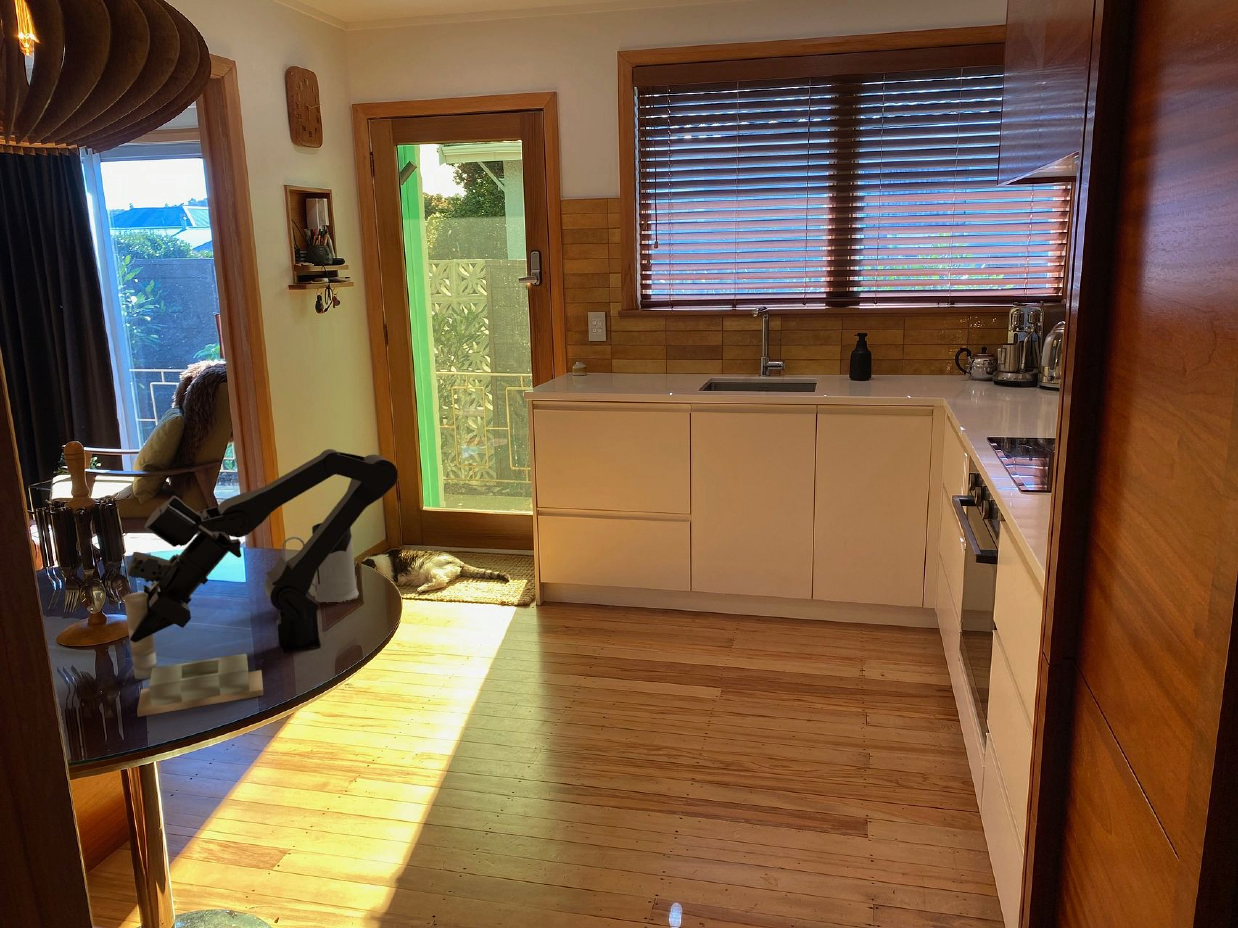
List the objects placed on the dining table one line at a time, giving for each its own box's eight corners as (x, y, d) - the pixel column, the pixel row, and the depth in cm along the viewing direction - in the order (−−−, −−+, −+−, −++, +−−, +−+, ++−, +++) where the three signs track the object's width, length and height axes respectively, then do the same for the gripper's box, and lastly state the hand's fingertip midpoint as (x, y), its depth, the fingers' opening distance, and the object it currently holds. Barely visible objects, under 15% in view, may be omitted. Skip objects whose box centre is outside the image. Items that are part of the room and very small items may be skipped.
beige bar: (158, 669, 161) (148, 590, 158) (157, 676, 158) (147, 597, 155) (135, 672, 160) (125, 593, 157) (133, 680, 156) (123, 600, 154)
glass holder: (362, 598, 194) (357, 528, 191) (290, 610, 188) (283, 537, 184) (354, 586, 201) (348, 518, 198) (284, 597, 195) (277, 527, 192)
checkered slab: (261, 675, 158) (259, 650, 157) (263, 695, 150) (260, 668, 149) (142, 695, 151) (138, 669, 150) (137, 716, 144) (134, 689, 143)
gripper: (151, 522, 164) (87, 594, 161) (159, 548, 148) (88, 629, 145) (205, 558, 169) (144, 628, 166) (218, 587, 153) (151, 666, 150)
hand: (131, 636), depth 156 cm, fingers open, 4 cm apart
